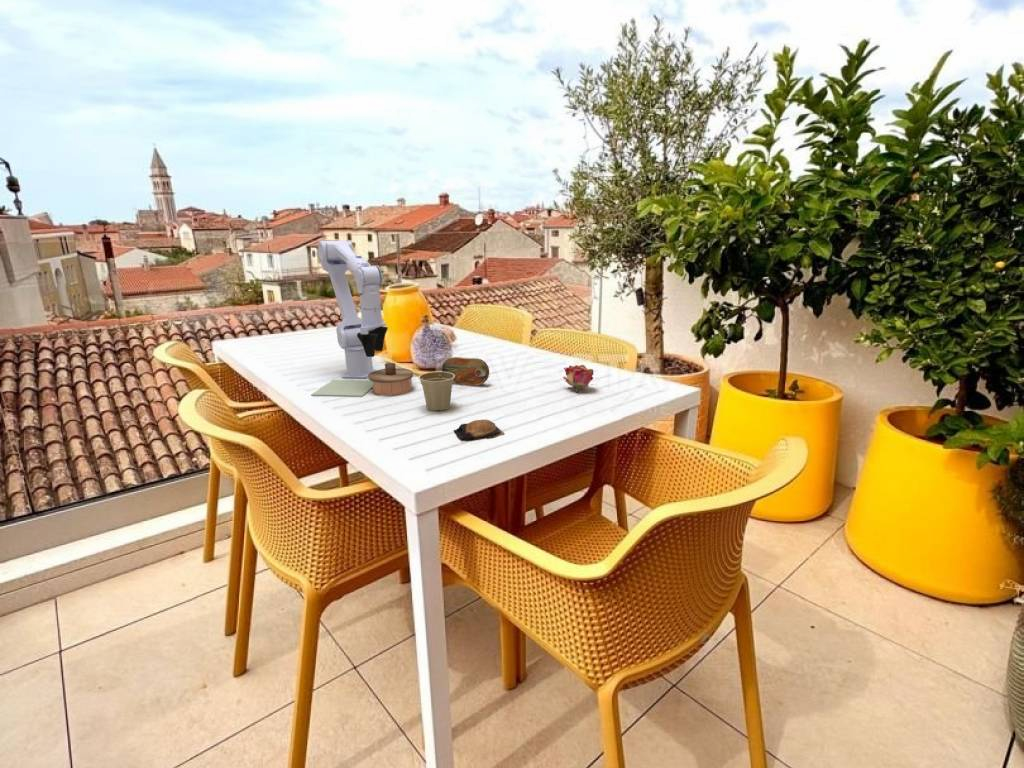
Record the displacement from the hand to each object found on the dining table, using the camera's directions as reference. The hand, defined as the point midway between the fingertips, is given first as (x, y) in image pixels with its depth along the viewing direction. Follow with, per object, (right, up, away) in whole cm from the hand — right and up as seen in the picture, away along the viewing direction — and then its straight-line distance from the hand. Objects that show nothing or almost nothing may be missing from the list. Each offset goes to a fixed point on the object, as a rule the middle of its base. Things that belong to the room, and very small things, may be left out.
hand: (374, 353), depth 149 cm
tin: (+27, -9, +4) cm, 29 cm away
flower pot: (+22, -16, -17) cm, 31 cm away
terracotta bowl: (+6, -11, -1) cm, 12 cm away
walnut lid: (+5, -7, -3) cm, 9 cm away
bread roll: (+34, -21, -34) cm, 52 cm away
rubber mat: (-8, -10, 0) cm, 13 cm away
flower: (+61, -11, -2) cm, 62 cm away
